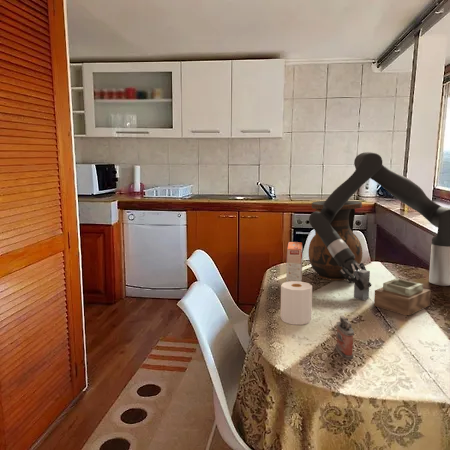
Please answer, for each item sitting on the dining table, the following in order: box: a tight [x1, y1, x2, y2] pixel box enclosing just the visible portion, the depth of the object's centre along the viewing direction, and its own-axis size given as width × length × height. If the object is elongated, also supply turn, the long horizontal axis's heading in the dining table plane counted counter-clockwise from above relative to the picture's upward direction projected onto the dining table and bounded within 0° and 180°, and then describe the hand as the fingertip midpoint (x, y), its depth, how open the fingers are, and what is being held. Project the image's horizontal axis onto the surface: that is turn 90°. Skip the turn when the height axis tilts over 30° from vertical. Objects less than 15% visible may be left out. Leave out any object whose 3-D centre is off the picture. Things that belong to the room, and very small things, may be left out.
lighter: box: [335, 315, 355, 360], centre depth 113 cm, size 8×3×10 cm, turn 5°
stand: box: [373, 277, 432, 316], centre depth 149 cm, size 16×13×8 cm
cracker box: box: [285, 241, 303, 282], centre depth 160 cm, size 14×6×21 cm, turn 168°
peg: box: [353, 269, 371, 301], centre depth 158 cm, size 4×4×11 cm
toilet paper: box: [280, 281, 313, 326], centre depth 137 cm, size 10×10×12 cm
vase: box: [307, 200, 363, 282], centre depth 187 cm, size 24×24×35 cm
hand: (366, 288), depth 156 cm, fingers closed on peg, 4 cm apart
